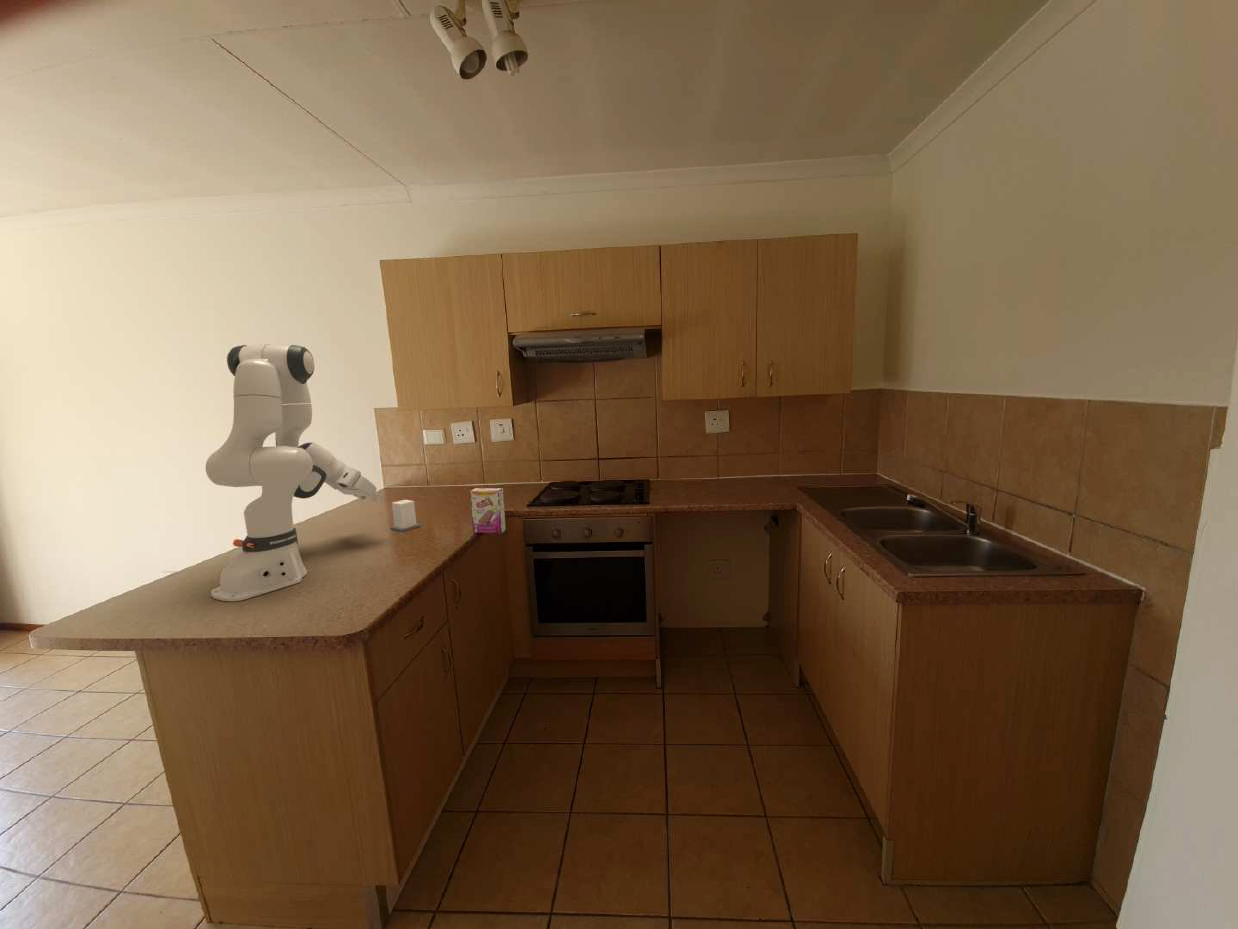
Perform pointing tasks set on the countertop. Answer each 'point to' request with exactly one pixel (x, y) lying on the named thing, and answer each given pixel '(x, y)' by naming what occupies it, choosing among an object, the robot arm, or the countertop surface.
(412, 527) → the post
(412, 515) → the white tissue box
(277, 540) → the robot arm
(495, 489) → the candy bar box
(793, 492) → the countertop surface
